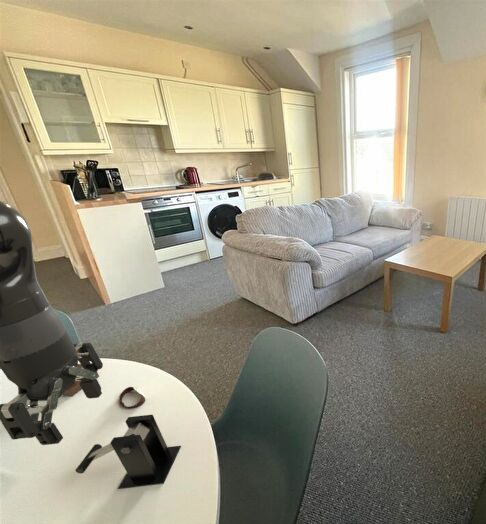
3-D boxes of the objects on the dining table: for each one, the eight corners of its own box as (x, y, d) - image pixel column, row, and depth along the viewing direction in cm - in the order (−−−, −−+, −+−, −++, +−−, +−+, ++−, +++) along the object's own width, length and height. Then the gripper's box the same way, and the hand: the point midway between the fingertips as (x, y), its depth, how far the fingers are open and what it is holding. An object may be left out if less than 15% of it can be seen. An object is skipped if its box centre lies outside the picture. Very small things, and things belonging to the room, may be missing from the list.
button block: (43, 391, 75) (35, 380, 74) (71, 371, 81) (65, 361, 80) (72, 396, 73) (65, 385, 71) (99, 376, 79) (93, 365, 78)
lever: (82, 476, 51) (71, 469, 50) (100, 451, 55) (90, 444, 55) (139, 447, 50) (128, 439, 49) (153, 424, 54) (144, 416, 53)
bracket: (120, 492, 52) (94, 449, 47) (142, 453, 58) (121, 413, 54) (165, 486, 53) (144, 444, 48) (182, 449, 59) (165, 408, 54)
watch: (152, 401, 70) (147, 391, 69) (130, 416, 67) (125, 405, 65) (137, 389, 74) (132, 378, 73) (116, 402, 71) (111, 392, 69)
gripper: (46, 314, 48) (85, 386, 54) (-57, 379, 35) (10, 463, 41) (93, 311, 48) (126, 382, 55) (8, 374, 35) (65, 458, 42)
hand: (76, 417), depth 48 cm, fingers open, 8 cm apart
